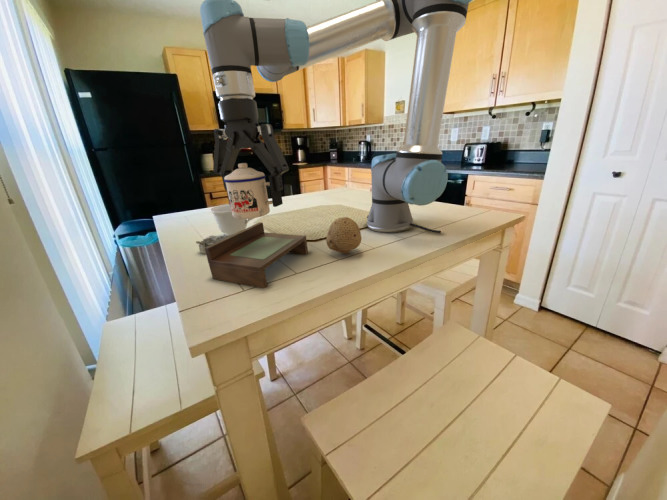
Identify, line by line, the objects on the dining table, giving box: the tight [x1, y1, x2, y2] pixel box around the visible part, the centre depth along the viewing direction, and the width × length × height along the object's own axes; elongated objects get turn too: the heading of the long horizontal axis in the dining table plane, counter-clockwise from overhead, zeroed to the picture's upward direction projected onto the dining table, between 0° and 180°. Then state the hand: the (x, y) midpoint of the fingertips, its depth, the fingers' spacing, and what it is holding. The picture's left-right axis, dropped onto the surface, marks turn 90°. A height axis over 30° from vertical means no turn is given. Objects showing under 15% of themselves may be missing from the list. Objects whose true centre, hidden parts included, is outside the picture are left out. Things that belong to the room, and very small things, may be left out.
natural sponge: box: [325, 216, 362, 255], centre depth 71 cm, size 9×9×10 cm
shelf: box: [205, 221, 309, 289], centre depth 68 cm, size 15×20×8 cm
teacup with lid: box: [224, 162, 273, 220], centre depth 62 cm, size 12×9×12 cm
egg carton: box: [195, 234, 233, 255], centre depth 82 cm, size 11×8×4 cm
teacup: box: [209, 203, 255, 235], centre depth 92 cm, size 12×15×10 cm
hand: (255, 204), depth 63 cm, fingers closed on teacup with lid, 12 cm apart
